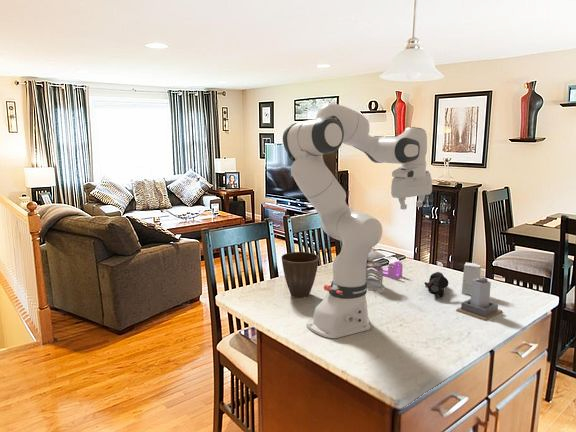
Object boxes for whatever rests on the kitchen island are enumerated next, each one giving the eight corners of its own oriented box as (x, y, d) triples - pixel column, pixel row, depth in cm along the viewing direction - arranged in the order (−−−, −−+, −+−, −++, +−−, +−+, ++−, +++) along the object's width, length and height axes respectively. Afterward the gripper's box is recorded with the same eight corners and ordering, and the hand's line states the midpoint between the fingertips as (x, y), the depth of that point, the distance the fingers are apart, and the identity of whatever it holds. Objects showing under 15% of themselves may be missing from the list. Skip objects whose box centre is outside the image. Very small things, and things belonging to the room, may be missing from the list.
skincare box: (461, 293, 178) (463, 264, 176) (463, 290, 182) (465, 262, 180) (477, 296, 175) (480, 267, 173) (479, 292, 179) (481, 264, 177)
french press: (385, 290, 182) (387, 231, 177) (357, 289, 184) (358, 231, 179) (384, 283, 192) (386, 226, 187) (357, 281, 193) (358, 226, 189)
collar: (485, 320, 152) (485, 312, 152) (456, 310, 161) (456, 302, 160) (502, 311, 160) (502, 303, 159) (473, 303, 168) (474, 295, 168)
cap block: (488, 311, 159) (490, 280, 157) (478, 312, 158) (480, 281, 155) (480, 306, 163) (482, 276, 161) (469, 308, 162) (472, 277, 160)
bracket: (402, 276, 200) (402, 262, 199) (394, 279, 197) (395, 264, 195) (379, 270, 210) (379, 256, 209) (371, 272, 206) (372, 258, 205)
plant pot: (326, 295, 177) (326, 257, 174) (297, 304, 168) (297, 264, 165) (302, 286, 188) (302, 249, 186) (274, 294, 179) (273, 256, 176)
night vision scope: (436, 290, 189) (456, 278, 185) (432, 305, 174) (453, 292, 169) (424, 275, 190) (444, 263, 186) (419, 289, 174) (440, 276, 170)
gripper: (423, 169, 173) (421, 204, 176) (389, 172, 161) (387, 209, 164) (437, 170, 168) (435, 206, 171) (402, 173, 156) (401, 211, 159)
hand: (411, 208), depth 167 cm, fingers open, 8 cm apart
